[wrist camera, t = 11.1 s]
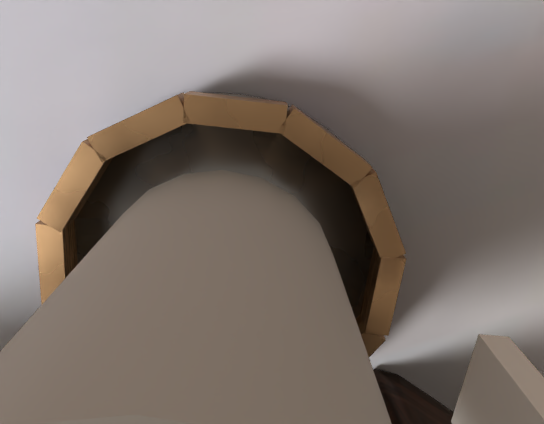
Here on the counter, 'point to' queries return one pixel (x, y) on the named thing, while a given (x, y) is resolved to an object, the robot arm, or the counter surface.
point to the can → (197, 320)
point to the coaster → (241, 159)
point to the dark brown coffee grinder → (409, 402)
